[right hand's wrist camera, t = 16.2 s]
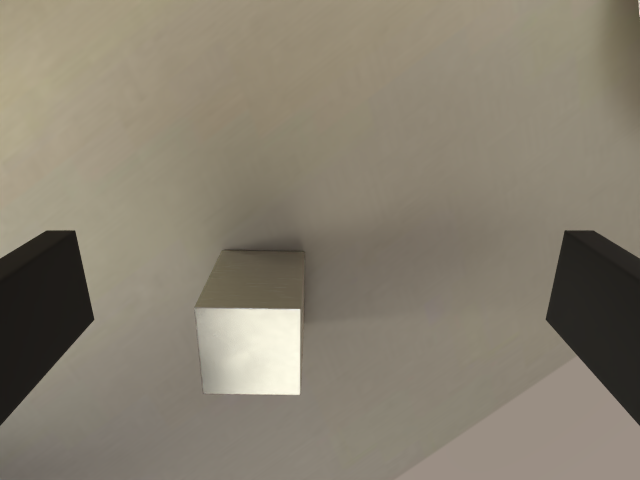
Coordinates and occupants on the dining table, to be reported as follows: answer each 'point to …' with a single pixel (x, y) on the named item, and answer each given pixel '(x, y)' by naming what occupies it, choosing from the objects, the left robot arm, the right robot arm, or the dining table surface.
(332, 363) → the dining table surface
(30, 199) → the dining table surface
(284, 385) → the grey block
